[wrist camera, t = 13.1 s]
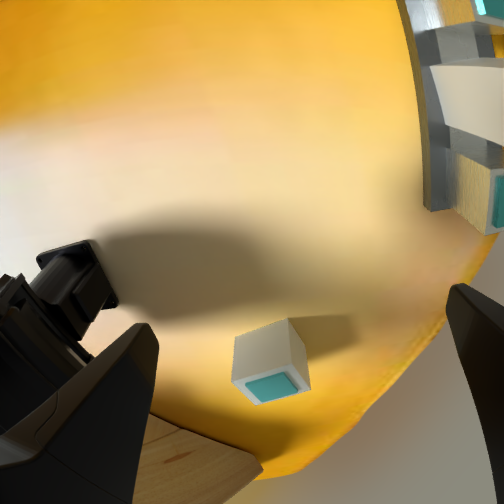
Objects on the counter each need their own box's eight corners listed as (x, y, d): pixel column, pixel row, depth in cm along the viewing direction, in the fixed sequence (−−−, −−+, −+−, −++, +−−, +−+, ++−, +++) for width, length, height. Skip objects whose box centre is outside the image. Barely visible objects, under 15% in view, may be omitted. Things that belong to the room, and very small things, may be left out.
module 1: (256, 362, 28) (255, 408, 24) (235, 336, 27) (230, 384, 22) (305, 345, 27) (311, 392, 22) (287, 317, 25) (291, 366, 21)
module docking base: (423, 205, 20) (469, 249, 14) (387, -28, 12) (433, -60, 6) (491, 193, 19) (541, 230, 13) (467, -15, 11) (522, -29, 5)
